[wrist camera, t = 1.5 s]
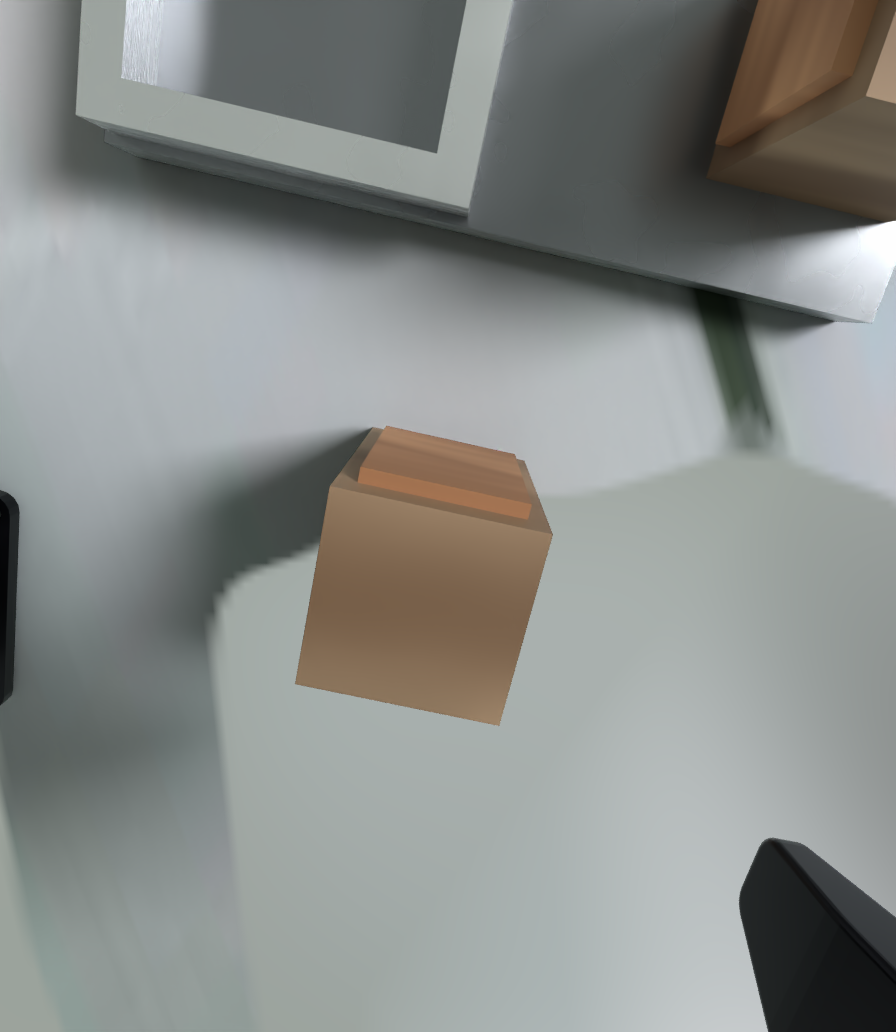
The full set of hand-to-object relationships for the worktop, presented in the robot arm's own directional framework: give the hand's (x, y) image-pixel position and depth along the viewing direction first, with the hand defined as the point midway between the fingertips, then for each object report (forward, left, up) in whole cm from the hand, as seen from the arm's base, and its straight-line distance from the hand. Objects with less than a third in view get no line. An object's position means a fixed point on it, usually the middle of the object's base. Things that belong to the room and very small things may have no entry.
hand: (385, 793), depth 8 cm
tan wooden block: (0, 0, -11) cm, 11 cm away
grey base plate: (+11, 0, -11) cm, 15 cm away
